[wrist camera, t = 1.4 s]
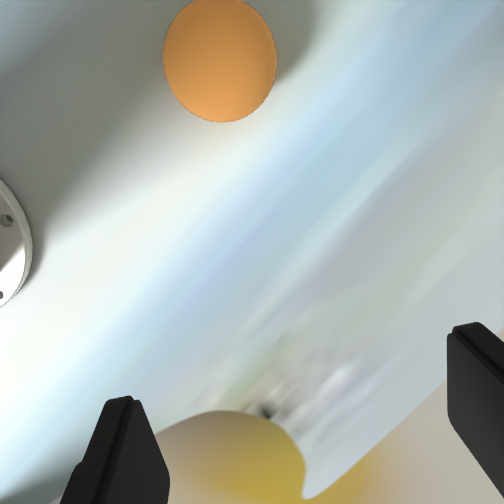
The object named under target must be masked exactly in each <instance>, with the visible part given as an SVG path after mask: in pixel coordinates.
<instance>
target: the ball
mask: <svg viewBox="0 0 504 504" xmlns="http://www.w3.org/2000/svg"><path fill="white" fill-rule="evenodd" d="M163 65H164V71H165V75H166V78H167V81H168V84H169V86H170V88H171V90H172V92H173V93H174V95H175V97H176V98H177V99H178V100H179V102H180V103H181V104H182V105H183V106H184V107H185V108H186V109H187V110H189V111H190V112H191V113H193V114H195V115H196V116H198V117H200V118H203V119H205V120H208V121H212V122H232V121H236V120H239V119H242V118H244V117H246V116H248V115H249V114H251V113H252V112H254V111H255V110H256V109H257V108H258V107H259V106H260V105H261V104H262V103H263V102H264V100H265V99H266V97H267V96H268V94H269V92H270V90H271V88H272V86H273V83H274V80H275V76H276V70H277V52H276V47H275V42H274V39H273V36H272V33H271V31H270V29H269V27H268V26H267V24H266V22H265V21H264V19H263V18H262V17H261V16H260V15H259V13H258V12H257V11H255V10H254V9H253V8H252V7H251V6H249V5H248V4H246V3H245V2H243V1H241V0H195V1H193V2H191V3H190V4H188V5H187V6H186V7H184V8H183V9H182V10H181V11H180V12H179V13H178V15H177V16H176V17H175V19H174V20H173V22H172V23H171V25H170V27H169V30H168V32H167V35H166V38H165V42H164V48H163Z"/></svg>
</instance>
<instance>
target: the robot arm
mask: <svg viewBox="0 0 504 504" xmlns="http://www.w3.org/2000/svg"><path fill="white" fill-rule="evenodd" d="M10 216H11V218H12V219H13V220H12V219H11V218H10ZM32 252H33V243H32V237H31V232H30V227H29V224H28V222H27V219H26V217H25V214H24V211H23V209H22V208H21V206H20V204H19V203H18V201H17V200H16V198H15V196H14V195H13V193H12V192H11V191H10V190H9V188H8V187H7V186H6V185H5V184H4V183H3V181H2V180H1V179H0V308H1V307H2V306H3V305H4V304H5V303H7V302H8V301H9V300H10V299H11V298H12V297H13V296H14V295H15V294H16V293H17V292H18V291H19V290H20V288H21V287H22V285H23V284H24V282H25V280H26V278H27V276H28V274H29V270H30V267H31V263H32ZM447 397H448V398H447V400H448V401H447V402H448V403H447V404H448V405H447V407H448V408H447V409H448V417H449V420H450V422H451V424H452V426H453V427H454V429H455V431H456V432H457V433H458V435H459V436H460V438H461V439H462V440H463V442H464V443H465V445H466V446H467V447H468V449H469V450H470V452H471V453H472V454H473V456H474V457H475V459H476V460H477V461H478V463H479V464H480V466H481V467H482V468H483V470H484V471H485V473H486V474H487V475H488V477H489V478H490V480H491V481H492V482H493V484H494V485H495V487H496V488H497V489H498V491H499V492H500V494H501V495H502V496H503V498H504V342H503V341H501V340H500V339H499V338H498V337H497V336H496V335H494V334H493V333H492V332H491V331H490V330H489V329H487V328H486V327H485V326H484V325H483V324H481V323H479V322H473V323H469V324H464V325H459V326H455V327H454V328H453V330H452V333H450V334H448V336H447ZM169 488H170V477H169V472H168V469H167V466H166V464H165V461H164V459H163V456H162V454H161V451H160V449H159V446H158V444H157V441H156V439H155V436H154V434H153V431H152V429H151V426H150V424H149V421H148V419H147V416H146V414H145V411H144V409H143V406H142V404H141V402H140V401H139V400H134V399H133V398H132V397H131V396H124V397H119V398H115V399H110V400H108V401H106V403H105V405H104V407H103V410H102V412H101V415H100V417H99V420H98V422H97V425H96V427H95V430H94V432H93V435H92V437H91V440H90V442H89V445H88V447H87V450H86V452H85V455H84V458H83V460H82V462H80V463H79V464H78V465H77V466H76V467H75V469H74V471H73V472H72V475H71V477H70V480H69V482H68V485H67V487H66V489H65V492H64V494H63V497H62V499H61V502H60V504H167V503H168V496H169Z"/></svg>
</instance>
